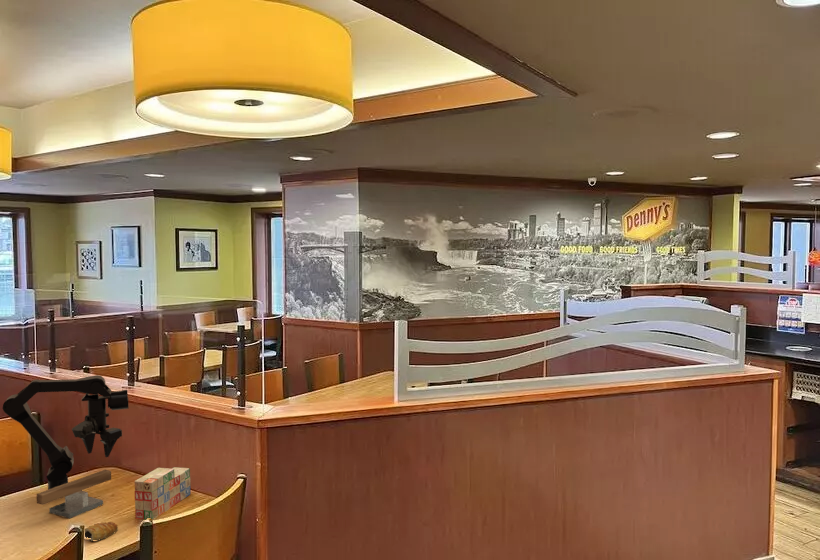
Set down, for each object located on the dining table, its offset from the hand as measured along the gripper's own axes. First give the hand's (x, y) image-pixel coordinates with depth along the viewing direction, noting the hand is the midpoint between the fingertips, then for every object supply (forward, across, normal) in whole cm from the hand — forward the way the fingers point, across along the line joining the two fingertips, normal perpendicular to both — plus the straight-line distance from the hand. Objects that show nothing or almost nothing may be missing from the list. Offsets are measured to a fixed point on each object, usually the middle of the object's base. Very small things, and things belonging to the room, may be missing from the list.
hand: (98, 455), depth 220 cm
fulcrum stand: (+12, +9, -15) cm, 21 cm away
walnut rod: (+6, +9, -15) cm, 18 cm away
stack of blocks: (+12, +33, -1) cm, 35 cm away
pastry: (+12, +33, -24) cm, 43 cm away
